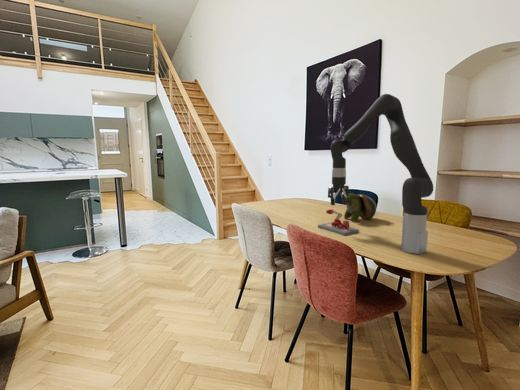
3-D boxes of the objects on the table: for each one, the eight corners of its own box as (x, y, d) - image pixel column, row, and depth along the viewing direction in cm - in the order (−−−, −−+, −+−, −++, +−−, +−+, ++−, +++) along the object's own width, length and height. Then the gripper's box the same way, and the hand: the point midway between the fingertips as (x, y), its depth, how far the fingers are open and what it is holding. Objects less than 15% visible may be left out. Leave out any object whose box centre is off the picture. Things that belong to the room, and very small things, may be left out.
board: (358, 232, 158) (358, 229, 157) (343, 235, 151) (343, 232, 151) (332, 224, 174) (332, 222, 174) (317, 227, 168) (317, 224, 168)
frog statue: (374, 228, 183) (343, 220, 174) (359, 221, 197) (330, 214, 189) (384, 200, 181) (353, 191, 172) (368, 196, 195) (339, 187, 187)
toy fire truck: (347, 229, 157) (347, 212, 155) (325, 225, 166) (326, 209, 165) (350, 228, 159) (350, 211, 157) (328, 224, 169) (329, 208, 167)
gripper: (334, 177, 151) (334, 206, 154) (352, 175, 159) (352, 204, 161) (324, 176, 158) (324, 204, 160) (342, 175, 165) (341, 202, 167)
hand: (338, 204), depth 160 cm, fingers open, 8 cm apart
